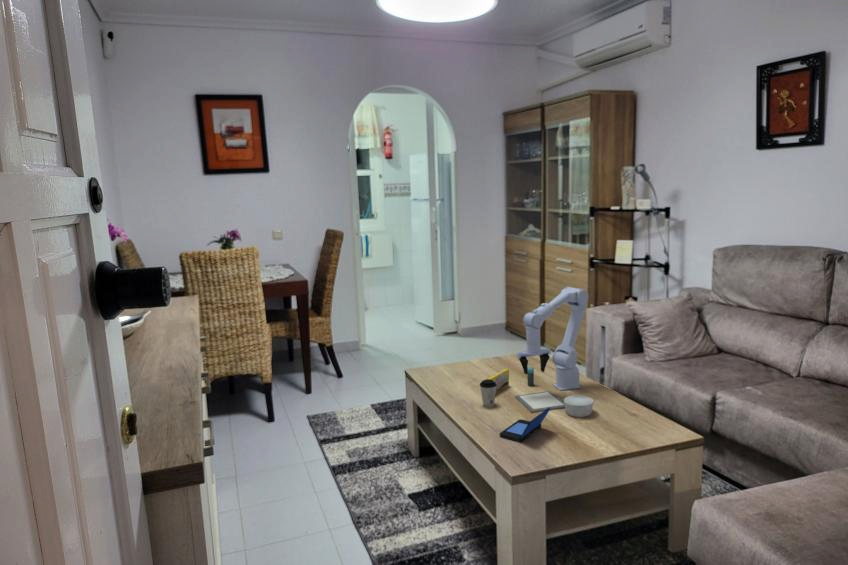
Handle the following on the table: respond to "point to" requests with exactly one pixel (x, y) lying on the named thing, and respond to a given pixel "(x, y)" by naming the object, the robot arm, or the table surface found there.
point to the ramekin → (578, 405)
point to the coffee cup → (488, 392)
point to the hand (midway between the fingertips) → (534, 372)
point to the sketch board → (540, 401)
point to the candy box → (501, 380)
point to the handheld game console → (523, 428)
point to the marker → (530, 376)
